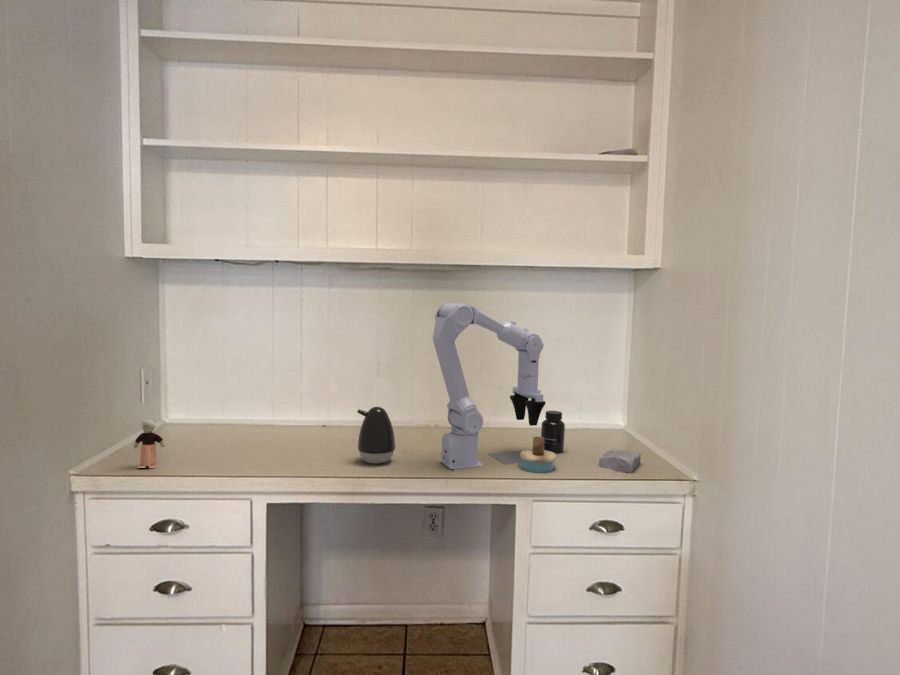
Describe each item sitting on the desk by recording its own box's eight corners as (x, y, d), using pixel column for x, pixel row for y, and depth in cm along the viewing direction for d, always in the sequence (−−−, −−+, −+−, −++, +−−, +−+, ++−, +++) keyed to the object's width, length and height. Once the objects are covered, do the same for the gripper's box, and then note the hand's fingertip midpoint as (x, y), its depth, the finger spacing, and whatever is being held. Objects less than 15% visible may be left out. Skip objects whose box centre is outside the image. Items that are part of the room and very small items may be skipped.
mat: (504, 465, 168) (504, 464, 168) (487, 455, 178) (487, 453, 178) (539, 462, 172) (539, 460, 172) (521, 452, 182) (521, 450, 182)
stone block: (597, 475, 167) (635, 474, 162) (594, 458, 167) (632, 455, 162) (607, 466, 177) (643, 464, 173) (605, 449, 177) (640, 447, 173)
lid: (530, 463, 159) (530, 443, 158) (514, 453, 168) (514, 435, 167) (563, 460, 162) (563, 441, 162) (545, 451, 171) (546, 432, 171)
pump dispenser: (359, 455, 174) (360, 402, 173) (396, 456, 174) (397, 403, 173) (354, 466, 164) (354, 410, 163) (393, 467, 164) (393, 410, 163)
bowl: (530, 475, 160) (531, 462, 159) (515, 466, 167) (516, 454, 167) (559, 472, 163) (559, 460, 162) (542, 463, 170) (543, 452, 170)
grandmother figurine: (131, 470, 157) (130, 421, 156) (134, 466, 160) (133, 418, 159) (164, 468, 159) (163, 420, 158) (166, 464, 162) (166, 417, 161)
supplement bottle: (546, 455, 179) (547, 414, 178) (536, 449, 185) (538, 410, 184) (567, 454, 180) (569, 413, 179) (557, 448, 187) (559, 409, 186)
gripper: (553, 378, 170) (551, 426, 171) (528, 371, 184) (526, 416, 185) (530, 379, 167) (529, 428, 169) (506, 372, 181) (505, 417, 182)
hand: (526, 422), depth 176 cm, fingers open, 7 cm apart
